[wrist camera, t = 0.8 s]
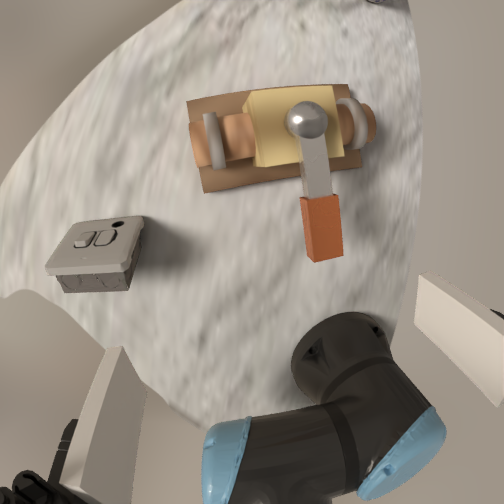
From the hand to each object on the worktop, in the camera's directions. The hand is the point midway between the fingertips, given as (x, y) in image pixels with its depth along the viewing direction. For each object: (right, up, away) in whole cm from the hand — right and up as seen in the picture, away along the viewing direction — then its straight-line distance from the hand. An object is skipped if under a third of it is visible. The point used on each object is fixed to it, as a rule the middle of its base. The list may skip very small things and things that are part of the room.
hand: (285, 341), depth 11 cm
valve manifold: (+1, +17, +19) cm, 25 cm away
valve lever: (+3, +9, +11) cm, 15 cm away
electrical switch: (-18, +5, +20) cm, 27 cm away
